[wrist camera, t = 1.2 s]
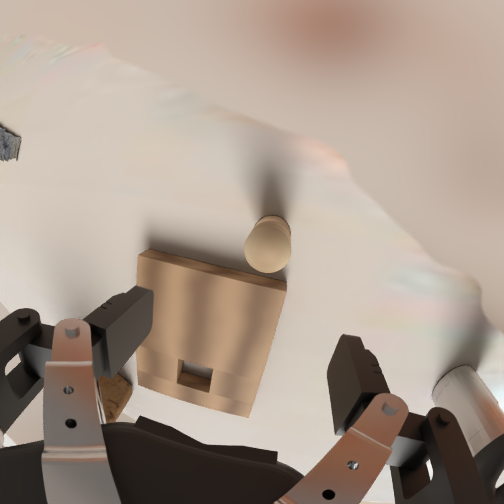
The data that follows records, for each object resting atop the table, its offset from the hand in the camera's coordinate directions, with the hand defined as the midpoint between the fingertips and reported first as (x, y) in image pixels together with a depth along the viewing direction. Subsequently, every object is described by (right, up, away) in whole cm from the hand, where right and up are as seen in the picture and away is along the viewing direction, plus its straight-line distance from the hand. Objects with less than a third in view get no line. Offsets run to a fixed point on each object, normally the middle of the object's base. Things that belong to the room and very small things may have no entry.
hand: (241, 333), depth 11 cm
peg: (+3, +6, +21) cm, 22 cm away
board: (-6, -9, +26) cm, 28 cm away
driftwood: (-50, +26, +23) cm, 61 cm away
